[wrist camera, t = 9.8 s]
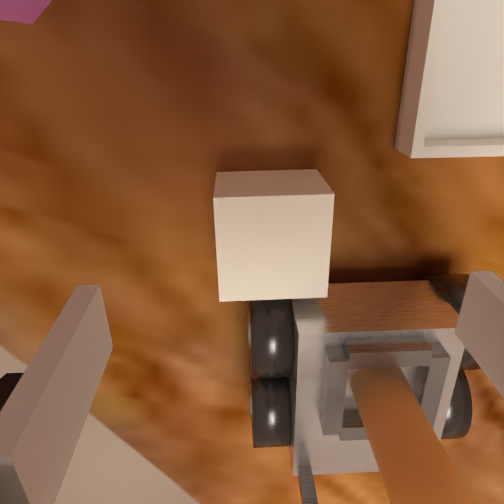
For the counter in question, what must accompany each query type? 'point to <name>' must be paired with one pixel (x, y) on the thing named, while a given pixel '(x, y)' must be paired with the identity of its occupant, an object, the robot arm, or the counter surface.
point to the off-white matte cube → (272, 234)
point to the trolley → (353, 367)
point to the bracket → (22, 10)
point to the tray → (453, 81)
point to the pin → (404, 440)
